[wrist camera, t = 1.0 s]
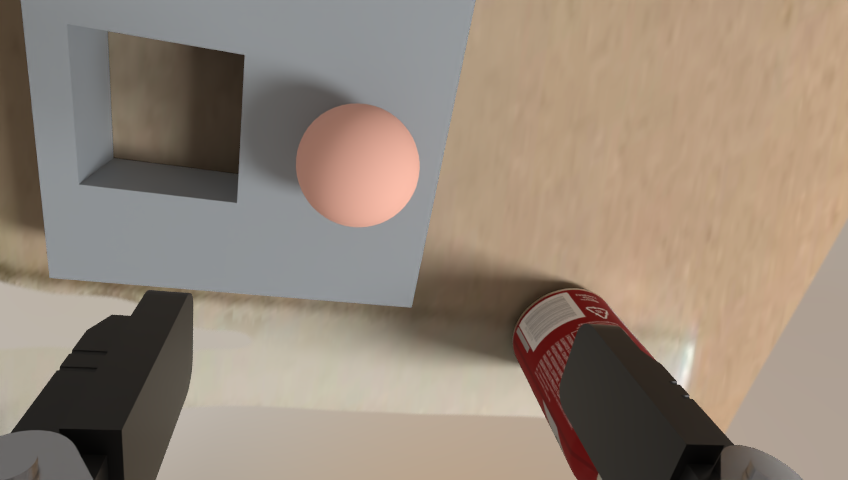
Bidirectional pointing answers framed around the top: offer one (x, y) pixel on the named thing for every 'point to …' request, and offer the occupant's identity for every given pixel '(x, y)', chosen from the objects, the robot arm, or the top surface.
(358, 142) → the ball
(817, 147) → the top surface
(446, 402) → the top surface
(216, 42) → the grey block with recess
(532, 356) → the soda can
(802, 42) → the top surface
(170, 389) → the robot arm
